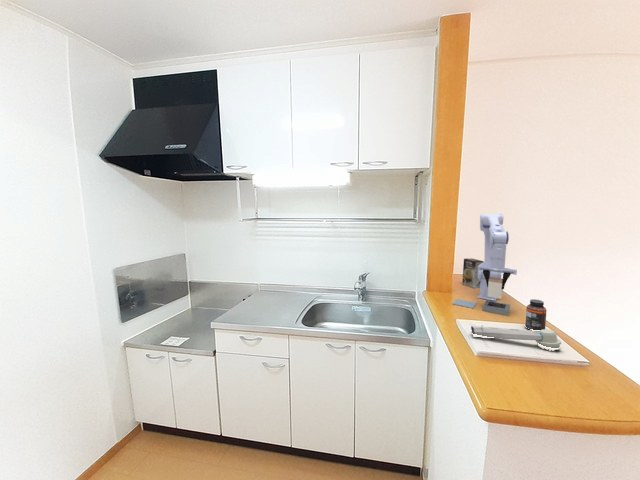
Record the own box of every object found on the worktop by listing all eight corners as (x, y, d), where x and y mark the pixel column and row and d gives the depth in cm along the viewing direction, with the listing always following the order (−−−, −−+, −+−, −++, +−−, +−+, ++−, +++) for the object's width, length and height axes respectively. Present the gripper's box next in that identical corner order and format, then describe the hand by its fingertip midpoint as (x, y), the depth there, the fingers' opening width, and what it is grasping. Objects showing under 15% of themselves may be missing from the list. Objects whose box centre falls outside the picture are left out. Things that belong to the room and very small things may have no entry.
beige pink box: (489, 293, 125) (490, 277, 124) (502, 295, 122) (503, 278, 121) (487, 296, 121) (488, 279, 120) (500, 298, 118) (502, 281, 117)
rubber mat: (456, 299, 136) (456, 298, 136) (477, 303, 130) (477, 302, 130) (452, 304, 129) (452, 303, 129) (473, 308, 124) (473, 307, 123)
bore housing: (486, 305, 128) (486, 300, 128) (510, 309, 122) (510, 304, 122) (482, 310, 121) (482, 305, 121) (507, 316, 115) (508, 310, 115)
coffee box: (461, 284, 165) (463, 258, 163) (470, 283, 166) (471, 258, 165) (473, 288, 156) (475, 261, 154) (482, 287, 158) (484, 260, 156)
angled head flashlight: (470, 323, 99) (555, 325, 89) (472, 340, 99) (557, 344, 89) (472, 328, 94) (562, 332, 84) (474, 347, 94) (564, 352, 84)
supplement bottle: (540, 327, 104) (543, 299, 102) (547, 334, 98) (550, 304, 97) (522, 325, 106) (524, 297, 104) (528, 331, 100) (531, 302, 99)
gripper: (477, 257, 121) (475, 286, 123) (516, 261, 112) (514, 292, 113) (480, 255, 126) (478, 283, 128) (518, 259, 117) (515, 289, 119)
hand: (495, 287), depth 121 cm, fingers closed on beige pink box, 5 cm apart
